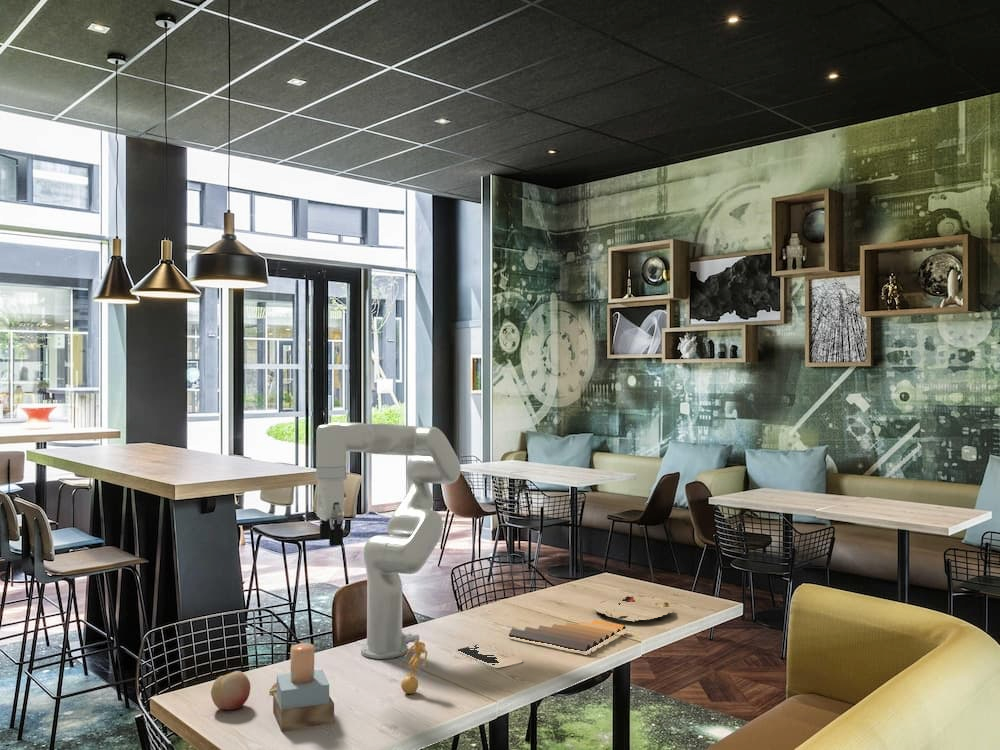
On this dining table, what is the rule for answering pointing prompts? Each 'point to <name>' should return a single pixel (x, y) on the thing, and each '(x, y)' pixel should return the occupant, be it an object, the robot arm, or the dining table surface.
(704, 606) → the dining table surface
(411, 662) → the figurine
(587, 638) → the pan flute
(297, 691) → the top block
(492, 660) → the cell phone
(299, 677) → the terracotta cylinder
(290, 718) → the bottom block
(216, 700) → the fruit
